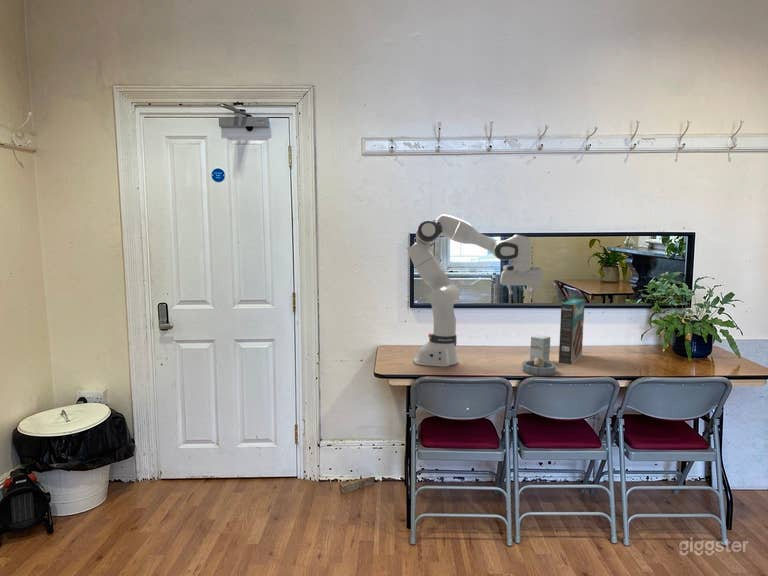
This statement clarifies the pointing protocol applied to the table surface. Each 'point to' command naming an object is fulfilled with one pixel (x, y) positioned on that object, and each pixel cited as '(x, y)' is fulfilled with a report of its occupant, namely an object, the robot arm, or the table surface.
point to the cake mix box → (571, 330)
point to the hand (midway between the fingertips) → (520, 294)
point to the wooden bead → (539, 362)
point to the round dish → (545, 371)
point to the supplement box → (540, 347)
